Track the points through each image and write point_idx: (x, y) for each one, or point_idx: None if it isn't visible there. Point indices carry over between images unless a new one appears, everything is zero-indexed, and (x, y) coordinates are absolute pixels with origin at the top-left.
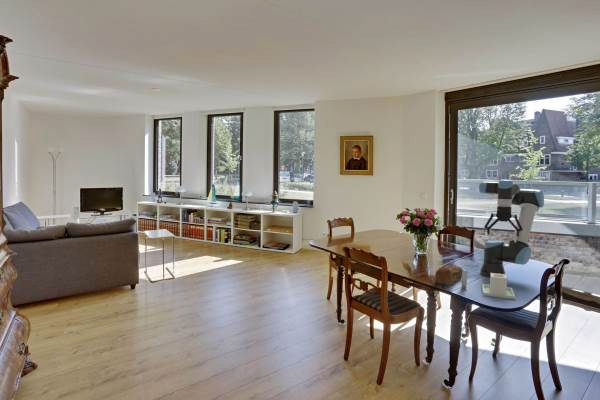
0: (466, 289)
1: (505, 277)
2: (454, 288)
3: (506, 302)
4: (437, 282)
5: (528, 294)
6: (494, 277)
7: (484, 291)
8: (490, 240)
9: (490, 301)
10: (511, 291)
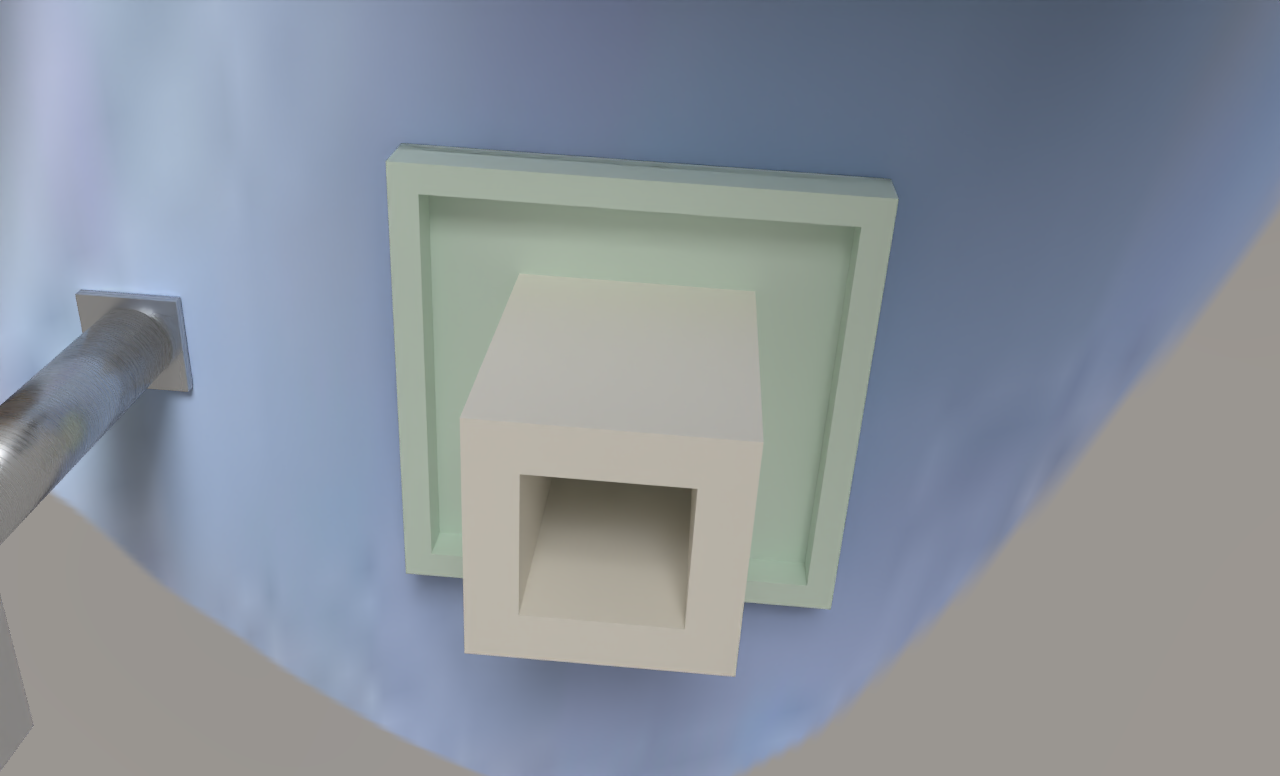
0: (176, 378)
1: (713, 637)
2: (3, 347)
3: (691, 685)
4: None
5: (1126, 278)
6: (519, 649)
7: (423, 530)
8: (31, 728)
9: (502, 702)
10: (834, 413)
